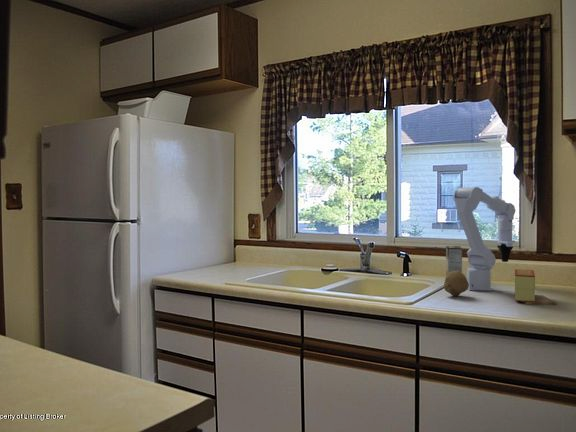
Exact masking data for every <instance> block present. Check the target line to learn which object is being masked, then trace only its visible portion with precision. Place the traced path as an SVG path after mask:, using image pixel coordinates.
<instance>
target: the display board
mask: <svg viewBox="0 0 576 432" xmlns="http://www.w3.org/2000/svg"><path fill="white" fill-rule="evenodd" d="M521 302H522V303H524V304H526V305H540V306H541V305H543V306H545V305H546V306H548V305H549V306H550V305H551V306H552V305H553V306H554V305H555V306H556V305H557V302H556V301H554V300H552V299H550V298H548V297H547V296H546V295H543V294H535V302H525V301H521Z"/></svg>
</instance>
